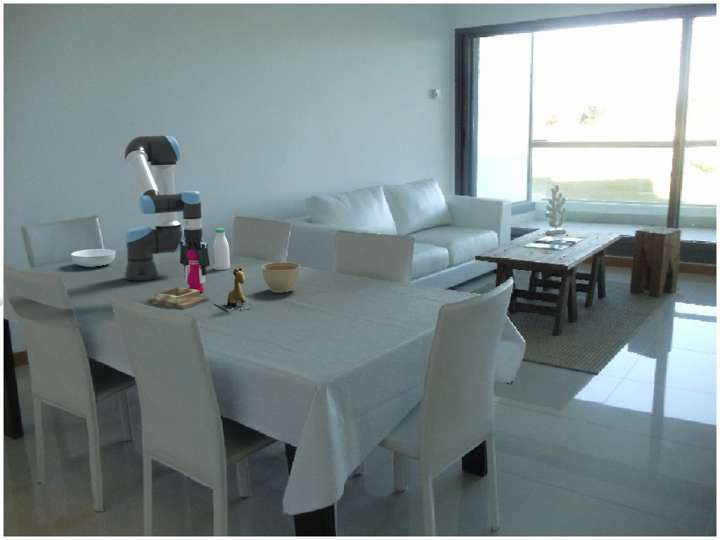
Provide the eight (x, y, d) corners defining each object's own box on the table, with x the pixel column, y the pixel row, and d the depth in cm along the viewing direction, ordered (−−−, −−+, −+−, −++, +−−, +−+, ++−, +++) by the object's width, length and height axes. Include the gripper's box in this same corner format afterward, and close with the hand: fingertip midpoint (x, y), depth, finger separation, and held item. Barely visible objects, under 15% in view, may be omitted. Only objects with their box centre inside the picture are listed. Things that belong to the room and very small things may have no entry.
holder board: (147, 302, 273) (146, 292, 272) (172, 294, 284) (171, 285, 284) (184, 308, 263) (183, 298, 262) (208, 300, 275) (208, 291, 274)
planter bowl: (255, 291, 291) (254, 266, 288) (283, 284, 302) (283, 260, 300) (279, 297, 280) (278, 271, 278) (308, 290, 291) (307, 265, 289)
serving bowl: (107, 270, 333) (106, 256, 331) (65, 270, 333) (63, 256, 332) (122, 261, 353) (121, 248, 352) (82, 261, 353) (81, 248, 352)
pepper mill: (200, 293, 284) (198, 246, 280) (184, 292, 286) (181, 246, 281) (207, 289, 291) (205, 243, 287) (192, 288, 293) (189, 242, 288)
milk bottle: (233, 268, 336) (231, 228, 332) (222, 271, 329) (220, 230, 325) (221, 266, 340) (219, 227, 336) (210, 269, 333) (208, 229, 329)
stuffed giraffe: (228, 313, 258) (227, 271, 255) (210, 304, 272) (209, 265, 270) (266, 308, 266) (266, 268, 264) (247, 300, 281) (246, 262, 278)
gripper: (168, 227, 284) (171, 280, 289) (205, 231, 274) (207, 286, 280) (181, 225, 290) (184, 277, 296) (217, 228, 281) (219, 282, 286)
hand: (195, 281), depth 288 cm, fingers closed on pepper mill, 7 cm apart
